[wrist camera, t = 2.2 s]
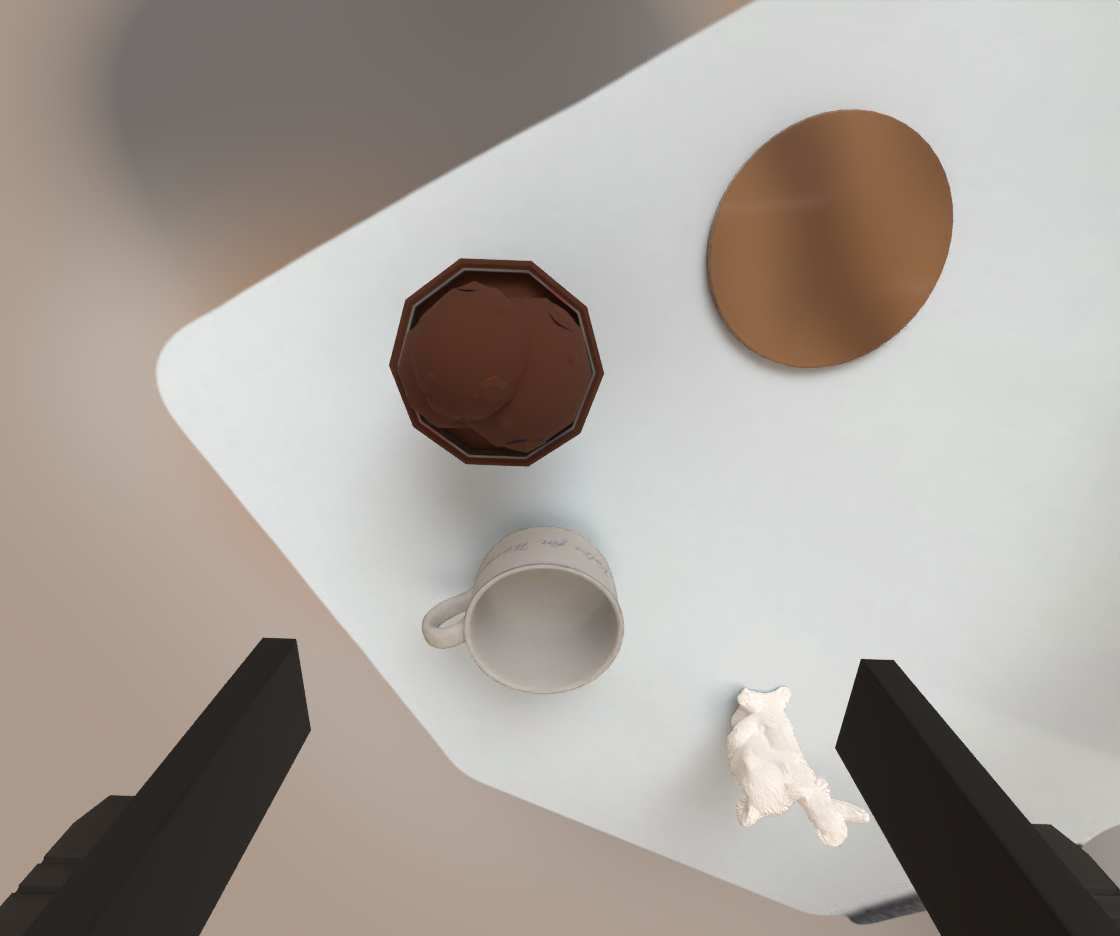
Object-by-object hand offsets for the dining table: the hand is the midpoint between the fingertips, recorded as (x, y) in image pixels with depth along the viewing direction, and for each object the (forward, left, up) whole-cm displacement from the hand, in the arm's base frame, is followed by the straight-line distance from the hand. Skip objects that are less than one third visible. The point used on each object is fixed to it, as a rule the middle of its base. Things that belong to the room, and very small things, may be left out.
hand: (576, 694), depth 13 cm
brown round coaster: (-19, +3, -27) cm, 33 cm away
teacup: (+11, +8, -27) cm, 31 cm away
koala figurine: (+6, +31, -27) cm, 42 cm away
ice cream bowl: (0, -6, -27) cm, 28 cm away
